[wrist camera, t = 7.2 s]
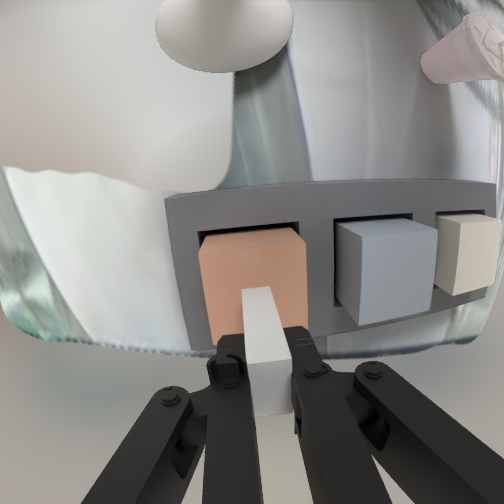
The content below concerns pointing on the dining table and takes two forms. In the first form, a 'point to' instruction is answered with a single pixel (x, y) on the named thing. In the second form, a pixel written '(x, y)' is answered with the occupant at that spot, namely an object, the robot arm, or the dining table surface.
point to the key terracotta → (253, 276)
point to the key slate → (384, 268)
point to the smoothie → (467, 53)
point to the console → (312, 235)
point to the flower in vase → (223, 32)
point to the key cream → (466, 251)
